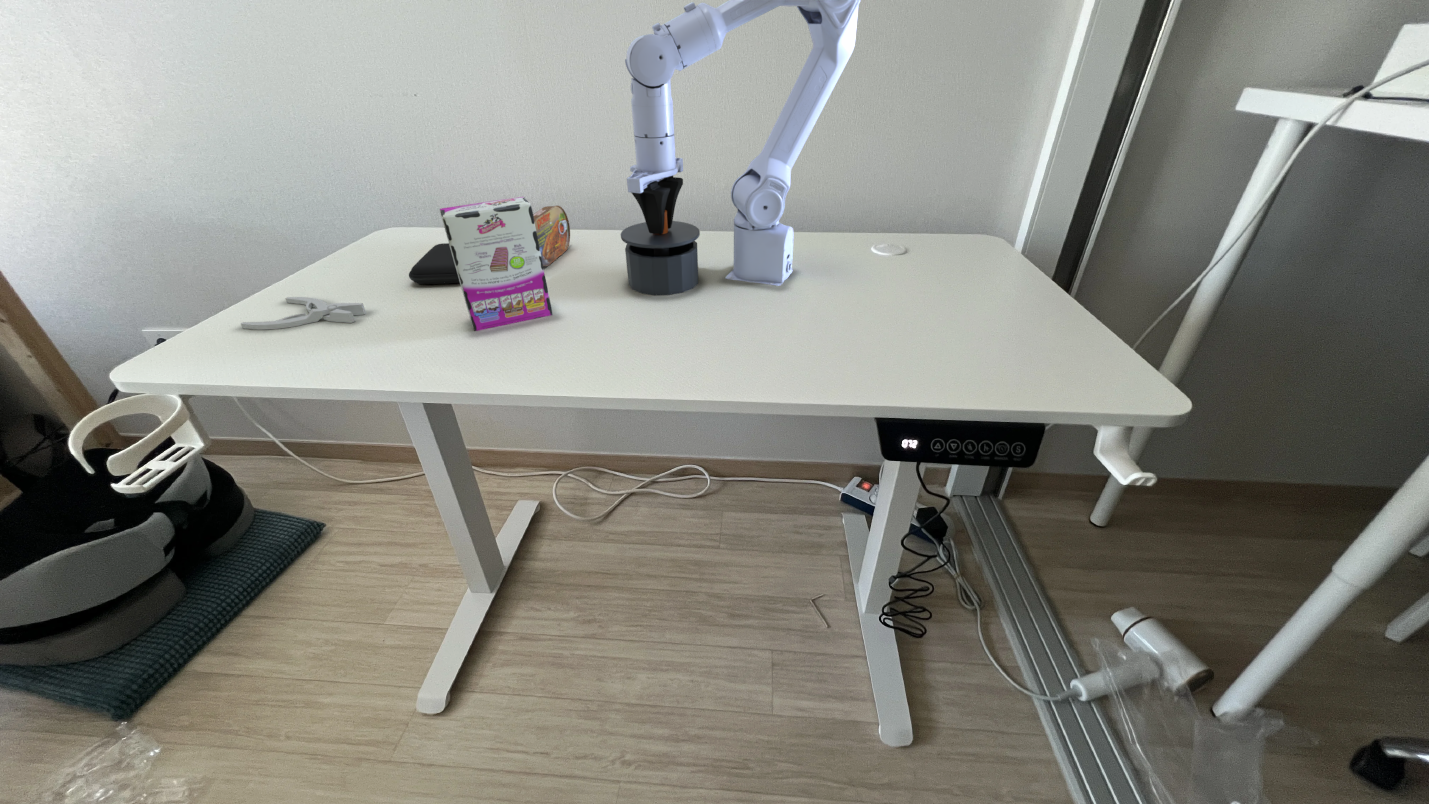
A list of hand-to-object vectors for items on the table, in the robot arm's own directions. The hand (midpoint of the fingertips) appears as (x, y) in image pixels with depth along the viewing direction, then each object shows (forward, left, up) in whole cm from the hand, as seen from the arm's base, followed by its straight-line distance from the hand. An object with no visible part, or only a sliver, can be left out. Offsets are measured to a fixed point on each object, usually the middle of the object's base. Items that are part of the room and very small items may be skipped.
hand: (660, 230), depth 91 cm
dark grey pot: (0, 0, -9) cm, 9 cm away
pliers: (+44, +28, -9) cm, 53 cm away
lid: (0, 0, -1) cm, 1 cm away
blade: (0, 0, -8) cm, 8 cm away
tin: (+25, -5, -9) cm, 27 cm away
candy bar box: (+15, +19, -9) cm, 26 cm away
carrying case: (+37, +6, -9) cm, 39 cm away
